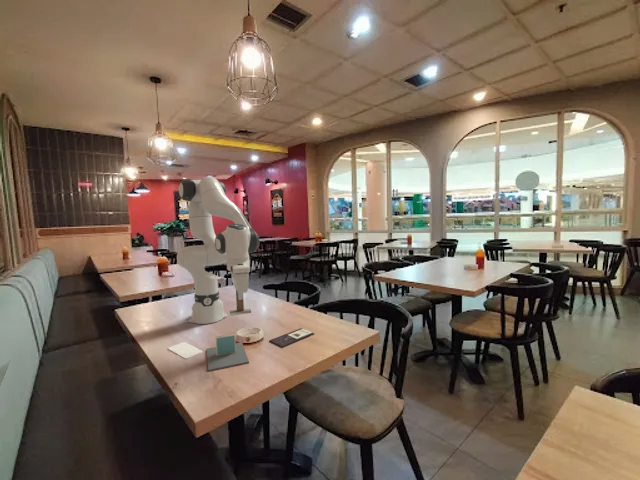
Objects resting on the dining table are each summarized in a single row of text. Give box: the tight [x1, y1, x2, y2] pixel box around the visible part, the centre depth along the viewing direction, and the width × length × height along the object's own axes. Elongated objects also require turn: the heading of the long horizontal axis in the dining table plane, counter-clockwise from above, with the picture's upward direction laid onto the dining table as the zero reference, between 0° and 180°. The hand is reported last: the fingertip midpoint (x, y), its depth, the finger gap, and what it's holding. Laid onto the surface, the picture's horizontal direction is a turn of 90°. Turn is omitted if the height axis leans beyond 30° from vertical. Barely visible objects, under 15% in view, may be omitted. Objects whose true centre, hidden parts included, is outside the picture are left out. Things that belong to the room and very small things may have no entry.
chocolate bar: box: [268, 327, 315, 349], centre depth 131 cm, size 9×1×18 cm
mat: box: [206, 341, 250, 372], centre depth 116 cm, size 18×14×1 cm
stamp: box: [229, 289, 252, 317], centre depth 123 cm, size 4×8×10 cm, turn 113°
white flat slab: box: [167, 341, 203, 360], centre depth 121 cm, size 7×1×15 cm
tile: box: [215, 333, 236, 356], centre depth 117 cm, size 2×7×7 cm, turn 112°
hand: (239, 298), depth 123 cm, fingers closed on stamp, 2 cm apart
